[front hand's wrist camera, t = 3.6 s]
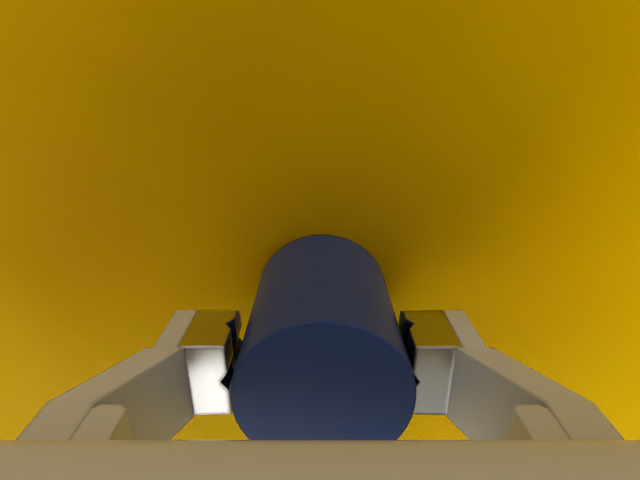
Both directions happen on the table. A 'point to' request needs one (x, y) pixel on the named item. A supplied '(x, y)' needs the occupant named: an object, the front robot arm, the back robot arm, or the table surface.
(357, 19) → the table surface
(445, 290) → the table surface
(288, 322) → the canister
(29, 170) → the table surface
